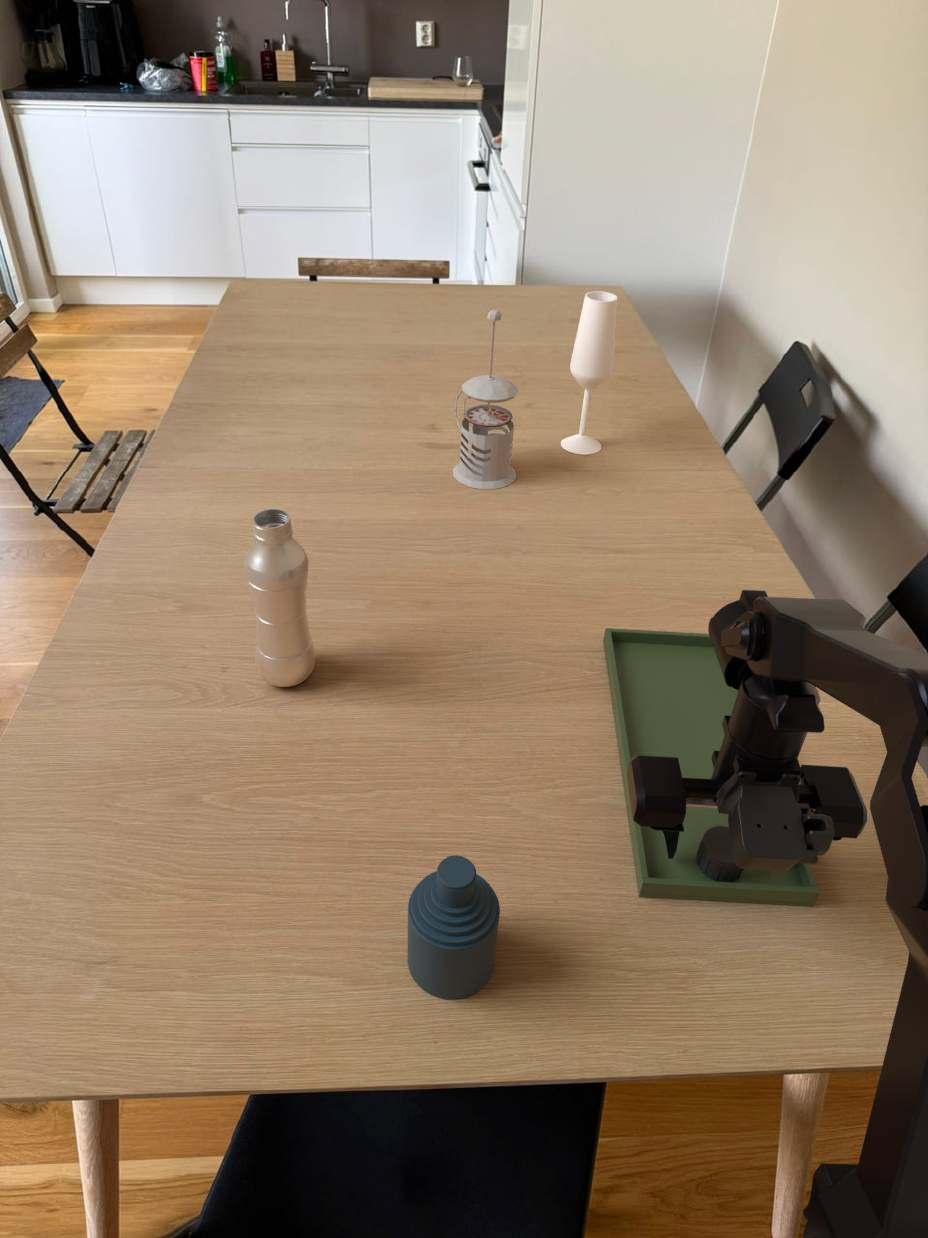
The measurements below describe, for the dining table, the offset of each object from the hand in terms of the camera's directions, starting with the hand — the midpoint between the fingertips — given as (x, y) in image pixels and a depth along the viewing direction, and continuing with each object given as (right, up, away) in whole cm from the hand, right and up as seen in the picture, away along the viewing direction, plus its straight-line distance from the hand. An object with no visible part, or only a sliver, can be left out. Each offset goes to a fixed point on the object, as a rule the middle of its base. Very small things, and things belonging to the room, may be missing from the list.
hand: (721, 857), depth 79 cm
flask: (-24, -6, -7) cm, 26 cm away
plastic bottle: (-42, +15, +19) cm, 49 cm away
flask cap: (0, +1, -1) cm, 2 cm away
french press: (-20, +44, +58) cm, 75 cm away
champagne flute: (-4, +49, +66) cm, 83 cm away
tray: (0, +7, +12) cm, 14 cm away
